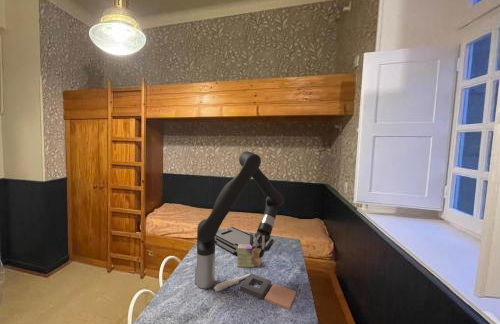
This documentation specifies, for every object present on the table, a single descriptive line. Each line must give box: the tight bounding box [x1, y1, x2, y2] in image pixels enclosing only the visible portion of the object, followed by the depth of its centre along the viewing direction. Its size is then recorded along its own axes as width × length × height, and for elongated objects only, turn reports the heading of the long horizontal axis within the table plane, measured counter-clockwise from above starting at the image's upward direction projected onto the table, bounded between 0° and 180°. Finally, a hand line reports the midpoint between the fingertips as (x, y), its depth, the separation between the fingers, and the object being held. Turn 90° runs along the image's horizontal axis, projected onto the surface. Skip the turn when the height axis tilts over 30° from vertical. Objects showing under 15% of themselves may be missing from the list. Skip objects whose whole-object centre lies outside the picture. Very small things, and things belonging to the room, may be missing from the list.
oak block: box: [251, 247, 263, 267], centre depth 107 cm, size 4×4×7 cm
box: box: [236, 244, 255, 268], centre depth 128 cm, size 10×6×12 cm, turn 92°
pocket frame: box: [239, 273, 272, 300], centre depth 108 cm, size 12×12×2 cm
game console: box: [215, 226, 262, 257], centre depth 152 cm, size 21×32×8 cm, turn 46°
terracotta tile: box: [263, 283, 297, 311], centre depth 102 cm, size 12×12×1 cm
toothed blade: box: [213, 273, 252, 293], centre depth 111 cm, size 3×4×22 cm
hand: (256, 255), depth 106 cm, fingers closed on oak block, 4 cm apart
